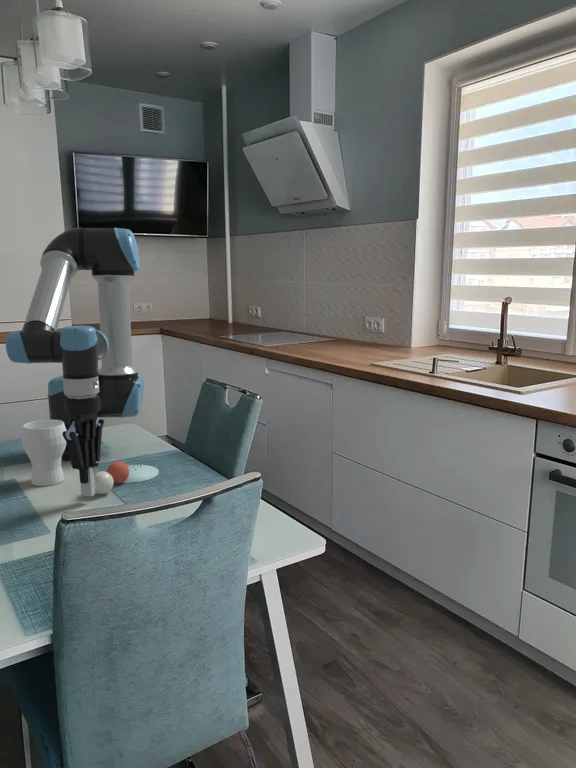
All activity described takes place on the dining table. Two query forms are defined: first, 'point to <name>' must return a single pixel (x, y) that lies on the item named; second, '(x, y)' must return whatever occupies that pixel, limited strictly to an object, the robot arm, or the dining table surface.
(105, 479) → the cue ball
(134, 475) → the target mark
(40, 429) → the cup
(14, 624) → the dining table surface
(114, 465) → the object ball
